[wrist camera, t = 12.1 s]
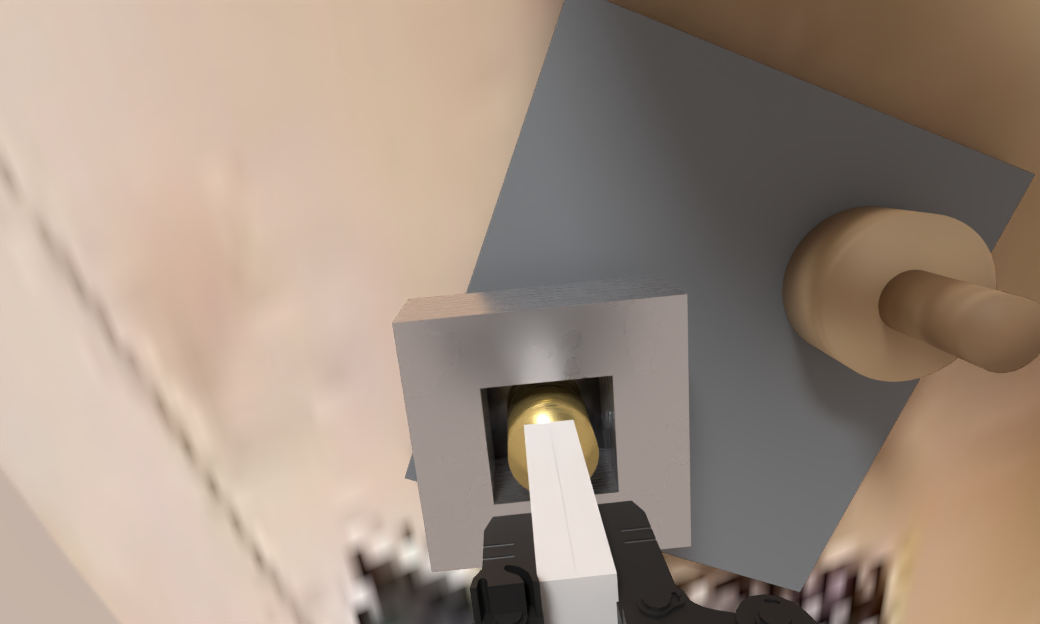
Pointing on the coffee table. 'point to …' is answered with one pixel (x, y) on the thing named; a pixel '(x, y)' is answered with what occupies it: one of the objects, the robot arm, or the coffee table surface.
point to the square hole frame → (534, 359)
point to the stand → (905, 296)
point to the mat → (726, 253)
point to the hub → (544, 418)
